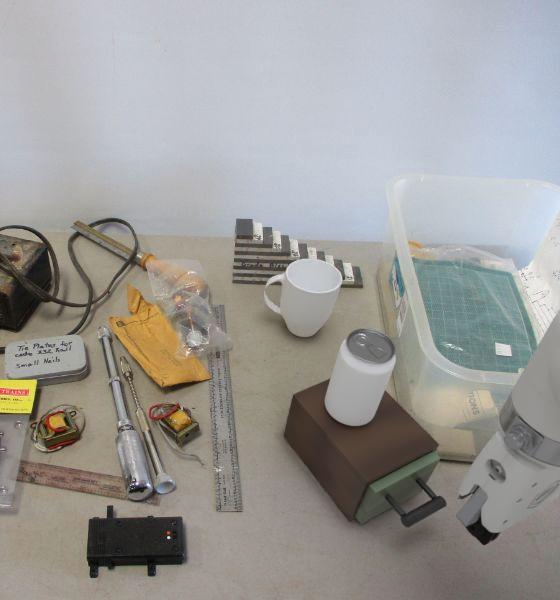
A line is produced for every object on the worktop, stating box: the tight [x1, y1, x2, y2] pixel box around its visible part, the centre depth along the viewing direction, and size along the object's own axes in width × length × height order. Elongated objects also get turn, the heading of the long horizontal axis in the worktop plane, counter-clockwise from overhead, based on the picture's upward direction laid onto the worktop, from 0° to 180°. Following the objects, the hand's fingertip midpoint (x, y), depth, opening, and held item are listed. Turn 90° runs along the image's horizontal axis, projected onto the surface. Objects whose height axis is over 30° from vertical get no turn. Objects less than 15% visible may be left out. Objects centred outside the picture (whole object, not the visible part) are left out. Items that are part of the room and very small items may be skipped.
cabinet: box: [282, 377, 440, 522], centre depth 79 cm, size 15×12×10 cm
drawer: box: [355, 451, 448, 529], centre depth 77 cm, size 18×10×8 cm, turn 27°
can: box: [325, 327, 397, 426], centre depth 73 cm, size 6×6×12 cm
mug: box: [263, 258, 343, 338], centre depth 98 cm, size 12×9×12 cm
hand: (477, 530), depth 63 cm, fingers closed
